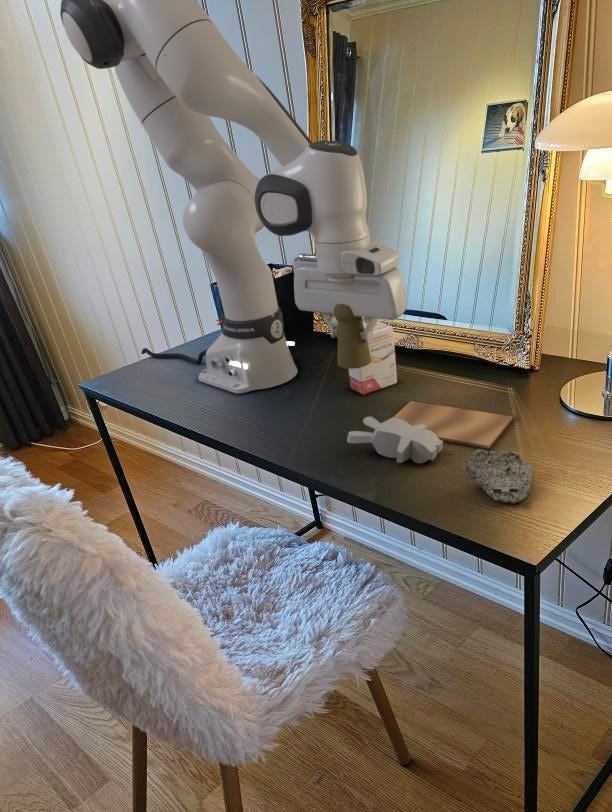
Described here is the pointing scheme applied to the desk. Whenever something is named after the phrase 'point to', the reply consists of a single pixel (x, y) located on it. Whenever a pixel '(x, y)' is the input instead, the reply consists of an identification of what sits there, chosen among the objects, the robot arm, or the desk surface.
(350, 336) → the pepper shaker
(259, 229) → the robot arm
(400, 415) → the cork mat
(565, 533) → the desk surface
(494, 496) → the rock sample
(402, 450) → the bunny figurine
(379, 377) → the ink cartridge box
